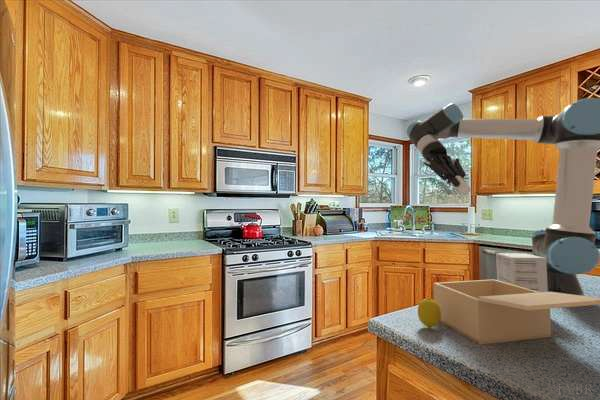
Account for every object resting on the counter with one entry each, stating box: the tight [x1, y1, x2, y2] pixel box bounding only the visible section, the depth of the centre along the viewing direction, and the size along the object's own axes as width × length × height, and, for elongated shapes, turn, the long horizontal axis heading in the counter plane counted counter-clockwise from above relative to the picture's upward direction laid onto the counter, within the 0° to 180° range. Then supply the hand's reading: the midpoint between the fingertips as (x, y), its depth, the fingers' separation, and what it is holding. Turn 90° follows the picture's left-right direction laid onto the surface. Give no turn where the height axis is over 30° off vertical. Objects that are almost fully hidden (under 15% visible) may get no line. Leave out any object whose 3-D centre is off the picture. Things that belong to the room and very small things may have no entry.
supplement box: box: [495, 252, 548, 292], centre depth 88 cm, size 10×9×17 cm
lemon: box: [417, 296, 441, 330], centre depth 75 cm, size 6×6×8 cm
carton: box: [432, 279, 552, 346], centre depth 76 cm, size 20×16×10 cm
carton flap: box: [478, 292, 600, 310], centre depth 62 cm, size 20×1×12 cm
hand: (466, 192), depth 90 cm, fingers closed
